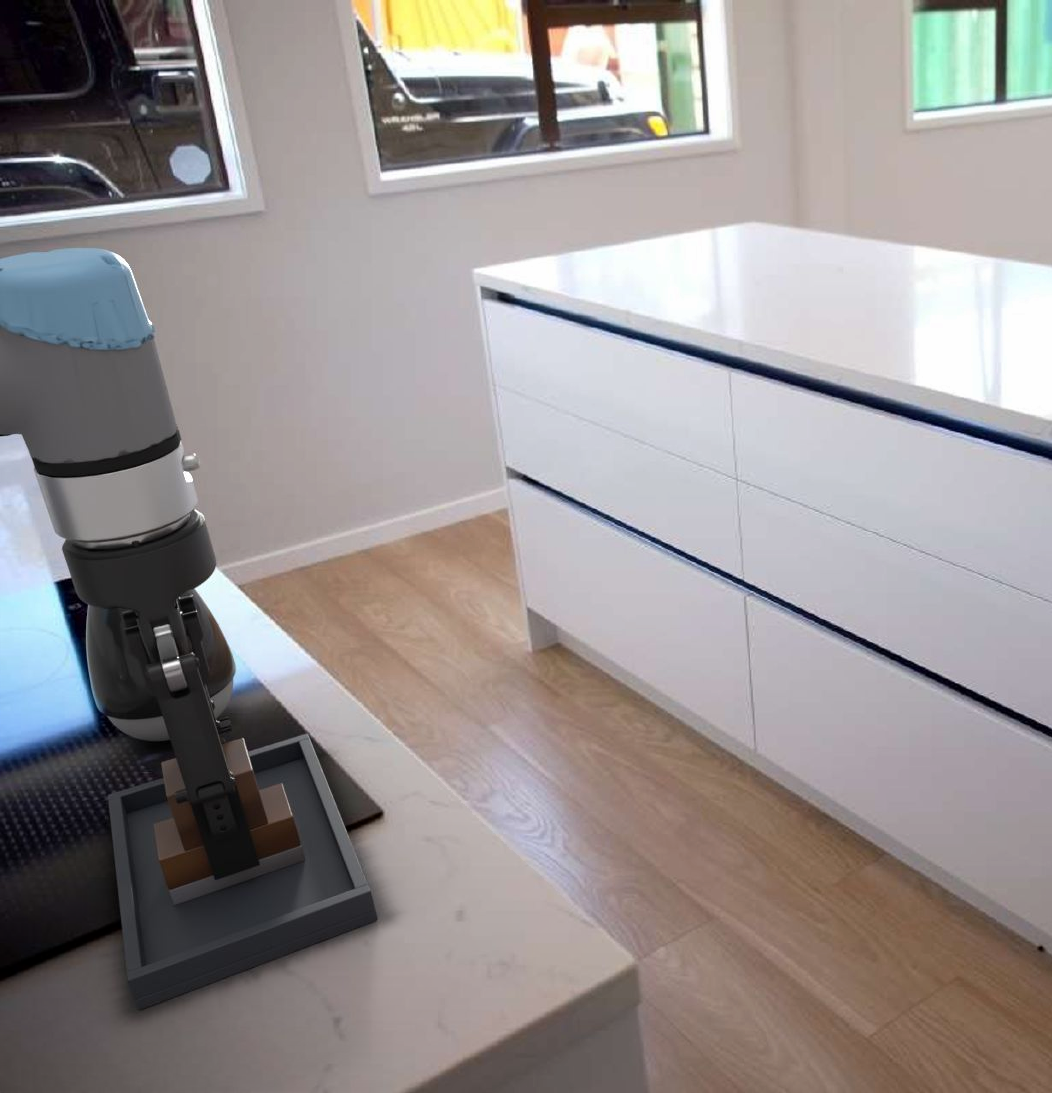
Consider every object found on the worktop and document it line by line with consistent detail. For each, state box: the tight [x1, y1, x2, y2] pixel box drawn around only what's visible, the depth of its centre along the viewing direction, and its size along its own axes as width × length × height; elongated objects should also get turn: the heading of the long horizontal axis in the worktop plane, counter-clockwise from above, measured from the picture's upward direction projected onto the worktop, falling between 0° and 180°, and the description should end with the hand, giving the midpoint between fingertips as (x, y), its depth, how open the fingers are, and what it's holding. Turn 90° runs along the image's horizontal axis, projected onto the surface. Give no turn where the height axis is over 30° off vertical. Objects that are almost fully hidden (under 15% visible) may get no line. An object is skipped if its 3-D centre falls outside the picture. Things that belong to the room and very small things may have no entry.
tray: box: [107, 733, 379, 1011], centre depth 83 cm, size 22×14×2 cm, turn 31°
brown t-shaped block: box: [154, 737, 305, 905], centre depth 81 cm, size 4×8×8 cm, turn 120°
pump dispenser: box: [85, 588, 237, 742], centre depth 98 cm, size 10×10×15 cm
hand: (231, 847), depth 82 cm, fingers closed on brown t-shaped block, 4 cm apart
